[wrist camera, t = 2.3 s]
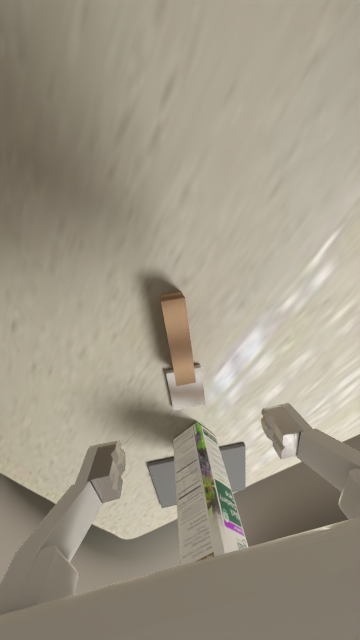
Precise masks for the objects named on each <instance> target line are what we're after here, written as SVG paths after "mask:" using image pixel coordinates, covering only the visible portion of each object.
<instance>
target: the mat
mask: <svg viewBox="0 0 360 640" xmlns="http://www.w3.org/2000/svg"><path fill="white" fill-rule="evenodd" d="M219 449H220V453H221V456H222V459H223V463H224V466H225V469H226V473H227V476H228V480H229V483H230V486H231V490H232V492H235V491H240V490H244V489H245V444H244V443H239V444H235V445H230V446H225V447H220V448H219ZM148 468H149V471H150V474H151V477H152V480H153V483H154V486H155V489H156V492H157V495H158V498H159V501H160V504H161V507H162V508H165V507H169V506H174V505H177V496H176V481H175V463H174V457H173V458H169V459H164V460H159V461H154V462H150V463H148Z"/></svg>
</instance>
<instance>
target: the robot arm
mask: <svg viewBox="0 0 360 640" xmlns="http://www.w3.org/2000/svg"><path fill="white" fill-rule="evenodd" d="M262 415H263V418H262V419H261V424H262V427H263V430H264V432H265V434H266V436H267V437H268V438H269V439H270V440H272V441H273V447H274V449H275V450H276V452H277V454H278V455H279V457H280V458H281V459H285V458H290V457H295V456H297V458H299V459H300V460H301V461H302V462H304V463H305V464H306V465H308V466H309V467H310V468H311V469H313V470H314V471H315V472H317V473H318V474H319V475H320V476H322V477H323V478H324V479H325V480H327V481H328V482H329V483H331V484H332V485H333V486H334V487H336V488H337V489H338V490H340V491H341V492H342V494H341V496H340V499H339V507H340V508H341V510H342V511H343V512H344V514H345V515H346V517H347V518H348V519H349V520H346V521H342V522H339V523H335V524H331V525H328V526H324V527H321V528H317V529H313V530H309V531H306V532H302V533H299V534H295V535H291V536H288V537H284V538H280V539H276V540H273V541H269V542H265V543H262V544H258V545H255V546H251V547H247V548H243V549H240V550H236V551H232V552H229V553H225V554H221V555H218V556H214V557H210V558H207V559H203V560H199V561H196V562H192V563H188V564H185V565H181V566H177V567H174V568H170V569H166V570H163V571H159V572H156V573H152V574H148V575H144V576H141V577H137V578H134V579H130V580H126V581H122V582H119V583H115V584H112V585H108V586H104V587H100V588H97V589H93V590H90V591H86V592H82V593H78V594H75V595H74V592H75V588H76V584H77V580H78V576H79V575H78V572H77V570H76V569H75V568H74V567H73V566H72V564H71V563H70V561H71V559H72V558H73V555H74V554H75V552H76V550H77V549H78V547H79V545H80V543H81V541H82V540H83V538H84V536H85V534H86V533H87V531H88V529H89V527H90V526H91V524H92V522H93V520H94V519H95V517H96V515H97V513H98V511H99V510H100V508H101V506H102V503H104V502H108V501H112V500H115V499H119V498H120V495H121V489H122V483H123V481H122V478H121V475H122V474H123V472H124V470H125V452H124V450H123V449H121V442H120V440H119V441H114V442H109V443H104V444H99V445H94V446H90V447H89V449H88V451H87V453H86V456H85V459H84V461H83V464H82V467H81V469H80V472H79V475H78V477H77V480H76V483H75V484H74V485H72V486H71V487H70V488H69V489H68V490H67V492H66V493H65V494H64V495H63V496H62V498H61V499H60V500H59V501H58V502H57V504H56V505H55V506H54V507H53V509H52V510H51V511H50V512H49V513H48V515H47V516H46V517H45V518H44V519H43V521H42V522H41V523H40V524H39V526H38V527H37V528H36V529H35V530H34V532H33V533H32V534H31V535H30V537H29V538H28V539H27V540H26V541H25V542H24V544H23V545H22V546H21V547H20V548H19V550H18V551H17V552H16V553H15V555H14V557H13V560H12V562H11V564H10V566H9V568H8V570H7V572H6V574H5V576H4V578H3V580H2V582H1V584H0V640H360V452H359V451H357V450H355V449H354V448H351V447H350V446H348V445H346V444H344V443H342V442H340V441H338V440H336V439H335V438H333V437H331V436H329V435H327V434H325V433H323V432H321V431H319V430H318V429H313V428H312V427H311V426H310V425H309V424H308V423H307V422H306V421H305V420H304V419H303V418H302V417H301V415H300V414H299V413H298V412H297V411H296V410H295V409H294V408H293V407H292V406H291V405H290V404H289V403H286V404H281V405H276V406H272V407H267V408H263V409H262Z"/></svg>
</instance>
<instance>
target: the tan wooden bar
mask: <svg viewBox="0 0 360 640" xmlns="http://www.w3.org/2000/svg"><path fill="white" fill-rule="evenodd" d="M161 306H162V311H163V316H164V322H165V327H166V332H167V338H168V343H169V349H170V354H171V359H172V365H173V369H171V370H166V376H167V381H168V385H169V390H170V395H171V400H172V405H173V409H174V410H179V409H184V408H189V407H194V406H199V405H204V404H205V398H204V389H203V381H202V372H201V366H200V364H198V365H194V363H193V356H192V348H191V341H190V333H189V326H188V318H187V311H186V303H185V297H184V296H183V294H182V292H174V293H168V294H162V295H161Z"/></svg>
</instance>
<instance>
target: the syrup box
mask: <svg viewBox="0 0 360 640" xmlns="http://www.w3.org/2000/svg"><path fill="white" fill-rule="evenodd" d="M173 448H174V463H175V481H176V496H177V514H178V530H179V547H180V564H181V565H185V564H188V563H192V562H196V561H199V560H203V559H207V558H210V557H214V556H218V555H221V554H225V553H229V552H232V551H236V550H240V549H243V548H247V547H248V544H247V541H246V538H245V534H244V531H243V528H242V524H241V521H240V518H239V514H238V511H237V507H236V504H235V501H234V497H233V493H232V490H231V486H230V483H229V480H228V476H227V473H226V469H225V466H224V463H223V459H222V456H221V453H220V449H219V446H218V443H217V439H216V437H215V435H213V434H211V433H210V432H209V431H208V430H207V429H205V428H204V427H203V426H202V425H200V424H199V423H198V422H196V423H195V424H193V425H192V426H190V427H189V428H188V429H186V430H185V431H184V432H182V433H181V434H180V435H179V436H177V437H176V438H175V439H173Z"/></svg>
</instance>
